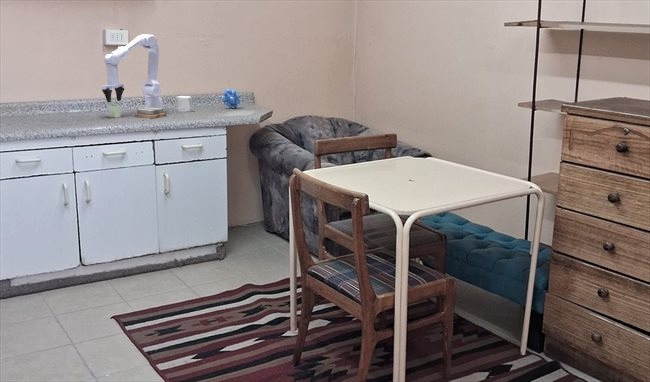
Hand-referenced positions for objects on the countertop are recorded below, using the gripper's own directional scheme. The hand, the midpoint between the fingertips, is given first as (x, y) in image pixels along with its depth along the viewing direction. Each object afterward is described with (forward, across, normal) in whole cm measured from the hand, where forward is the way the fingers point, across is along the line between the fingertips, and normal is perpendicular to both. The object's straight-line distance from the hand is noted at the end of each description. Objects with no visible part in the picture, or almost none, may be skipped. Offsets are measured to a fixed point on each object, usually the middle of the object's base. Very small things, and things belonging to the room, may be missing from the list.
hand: (114, 101), depth 398 cm
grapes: (+8, -63, +34) cm, 72 cm away
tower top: (+6, -10, +17) cm, 21 cm away
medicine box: (+8, -38, +18) cm, 43 cm away
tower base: (+9, -10, +17) cm, 22 cm away
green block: (+8, 0, 0) cm, 8 cm away
